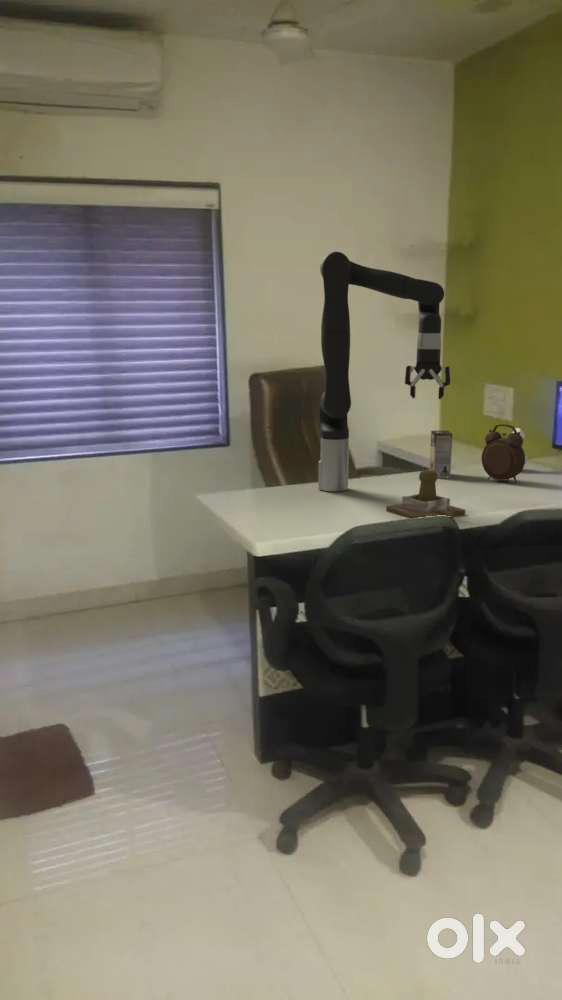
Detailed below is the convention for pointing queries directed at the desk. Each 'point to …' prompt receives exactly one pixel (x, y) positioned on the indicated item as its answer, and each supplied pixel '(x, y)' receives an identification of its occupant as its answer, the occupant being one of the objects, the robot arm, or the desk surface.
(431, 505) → the mount board
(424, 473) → the cork
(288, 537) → the desk surface
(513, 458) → the alarm clock
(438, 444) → the coffee box
